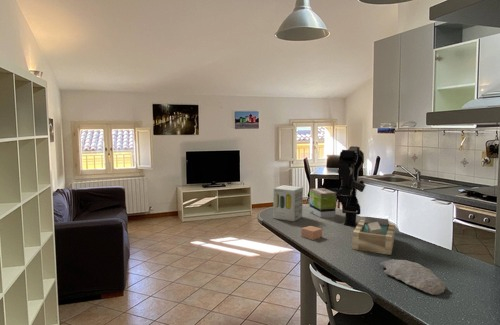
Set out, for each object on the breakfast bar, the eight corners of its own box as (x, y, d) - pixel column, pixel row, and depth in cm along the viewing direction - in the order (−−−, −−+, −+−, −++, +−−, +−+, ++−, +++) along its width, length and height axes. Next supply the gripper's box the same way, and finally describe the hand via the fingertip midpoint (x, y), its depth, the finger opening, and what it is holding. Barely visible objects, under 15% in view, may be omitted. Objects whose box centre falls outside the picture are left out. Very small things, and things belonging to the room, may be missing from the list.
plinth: (310, 233, 174) (310, 225, 173) (322, 237, 169) (322, 228, 168) (301, 236, 169) (301, 228, 169) (312, 240, 164) (313, 231, 164)
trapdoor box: (359, 234, 174) (360, 219, 173) (394, 239, 167) (395, 223, 166) (352, 248, 153) (353, 232, 152) (391, 254, 146) (392, 237, 145)
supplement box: (272, 218, 202) (273, 188, 200) (281, 213, 213) (282, 184, 211) (294, 221, 195) (295, 190, 194) (302, 216, 207) (303, 186, 205)
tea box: (308, 212, 218) (309, 188, 216) (323, 211, 221) (323, 187, 219) (320, 218, 203) (321, 192, 202) (335, 217, 206) (336, 192, 205)
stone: (370, 269, 133) (421, 300, 110) (371, 255, 133) (422, 283, 109) (405, 263, 138) (461, 291, 114) (405, 249, 137) (462, 275, 114)
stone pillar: (367, 235, 159) (367, 223, 156) (377, 233, 159) (377, 221, 155) (371, 242, 156) (371, 230, 152) (381, 240, 155) (381, 228, 152)
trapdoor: (366, 221, 169) (365, 216, 168) (388, 223, 165) (388, 219, 164) (360, 248, 156) (360, 243, 155) (384, 252, 152) (384, 247, 150)
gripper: (362, 179, 162) (360, 212, 164) (367, 174, 179) (365, 204, 181) (337, 177, 167) (336, 209, 168) (344, 172, 184) (343, 202, 185)
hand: (346, 206), depth 176 cm, fingers open, 9 cm apart
